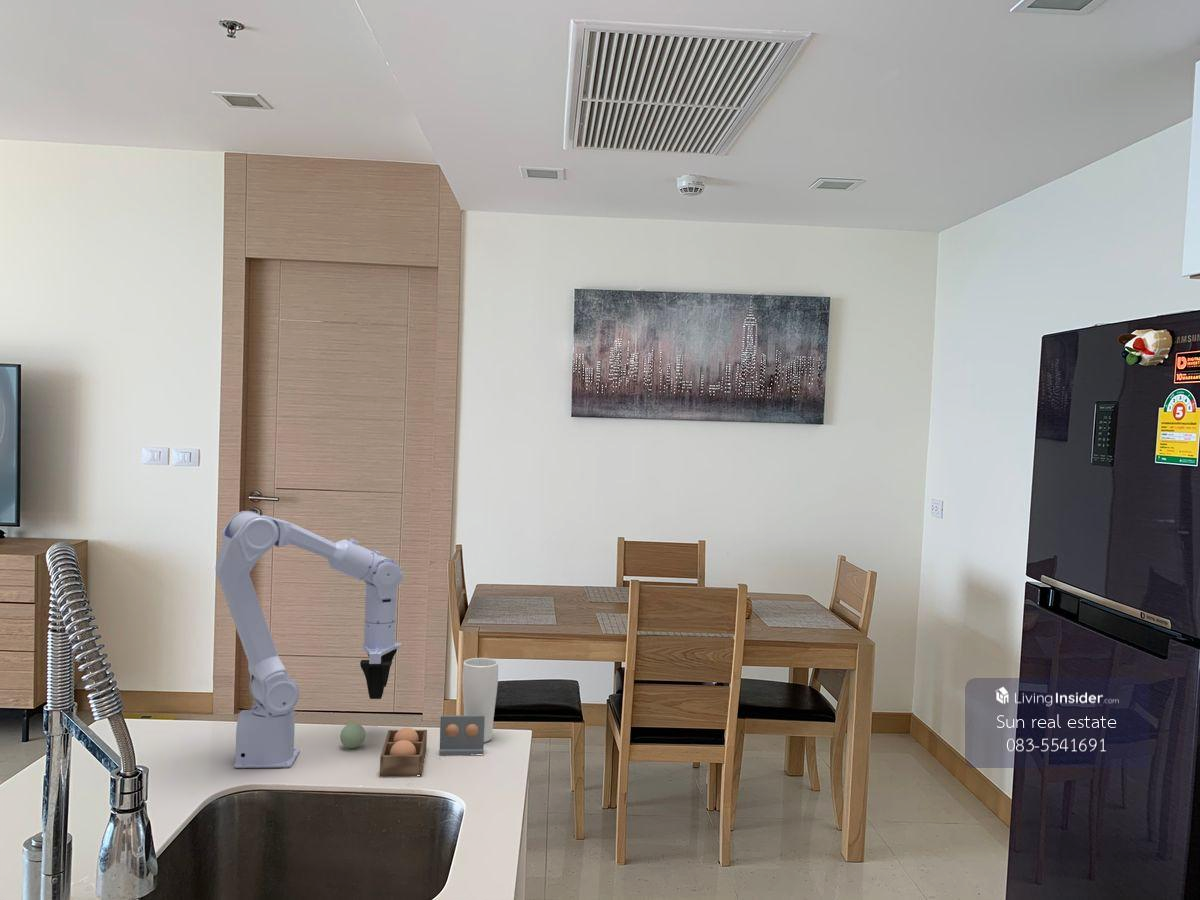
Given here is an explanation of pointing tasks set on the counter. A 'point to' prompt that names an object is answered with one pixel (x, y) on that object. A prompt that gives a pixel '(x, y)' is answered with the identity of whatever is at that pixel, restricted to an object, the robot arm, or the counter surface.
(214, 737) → the counter surface
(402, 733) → the terracotta ball
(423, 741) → the pair tray
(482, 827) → the counter surface
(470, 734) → the card
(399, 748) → the terracotta ball
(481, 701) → the white tall tapered cylinder
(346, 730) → the sage ball
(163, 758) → the counter surface
